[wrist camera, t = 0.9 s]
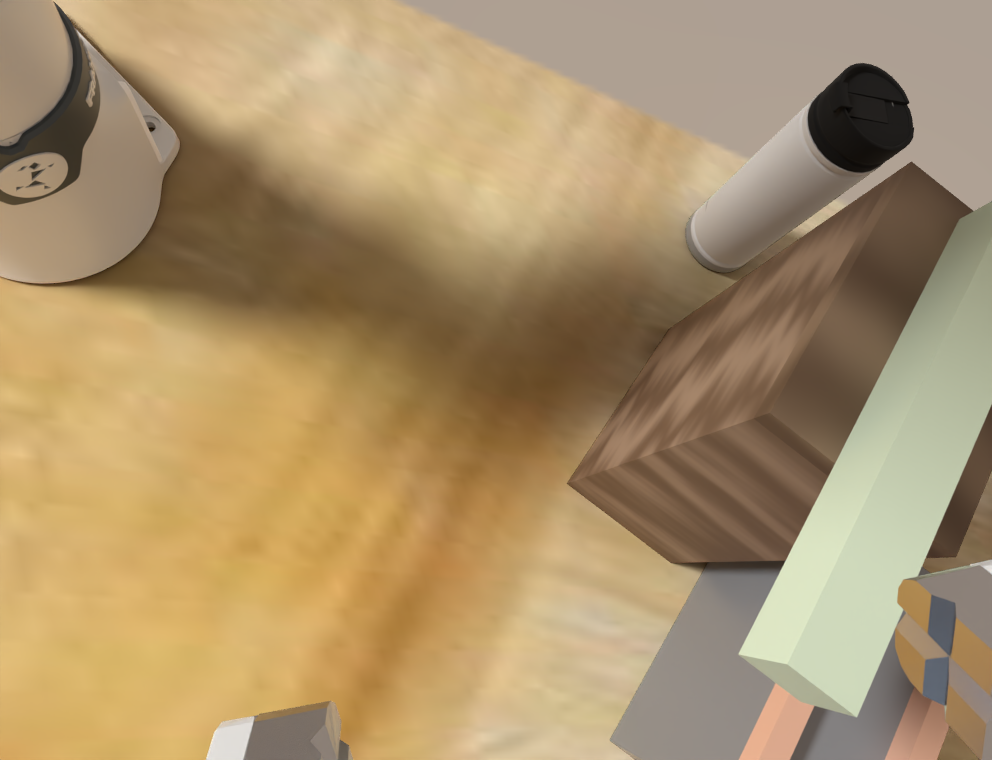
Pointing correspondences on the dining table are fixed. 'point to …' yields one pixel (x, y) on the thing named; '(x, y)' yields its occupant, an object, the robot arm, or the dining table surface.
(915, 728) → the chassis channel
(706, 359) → the walnut stand
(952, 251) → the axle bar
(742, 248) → the travel mug
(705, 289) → the dining table surface
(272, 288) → the dining table surface
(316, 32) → the dining table surface
